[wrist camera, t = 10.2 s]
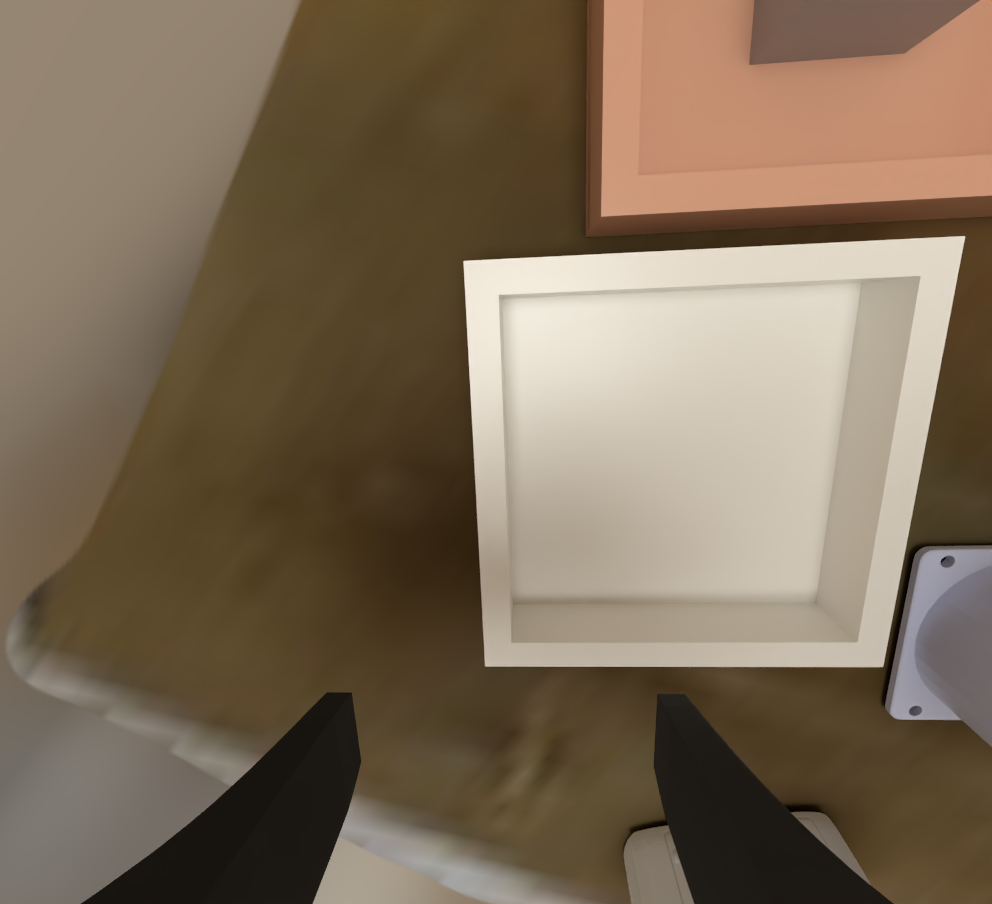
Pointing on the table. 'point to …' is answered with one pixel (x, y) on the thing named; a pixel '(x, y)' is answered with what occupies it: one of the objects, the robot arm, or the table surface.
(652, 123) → the bin
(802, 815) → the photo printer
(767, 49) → the gray cube
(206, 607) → the table surface
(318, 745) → the robot arm
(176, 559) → the table surface
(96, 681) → the table surface
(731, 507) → the tub
